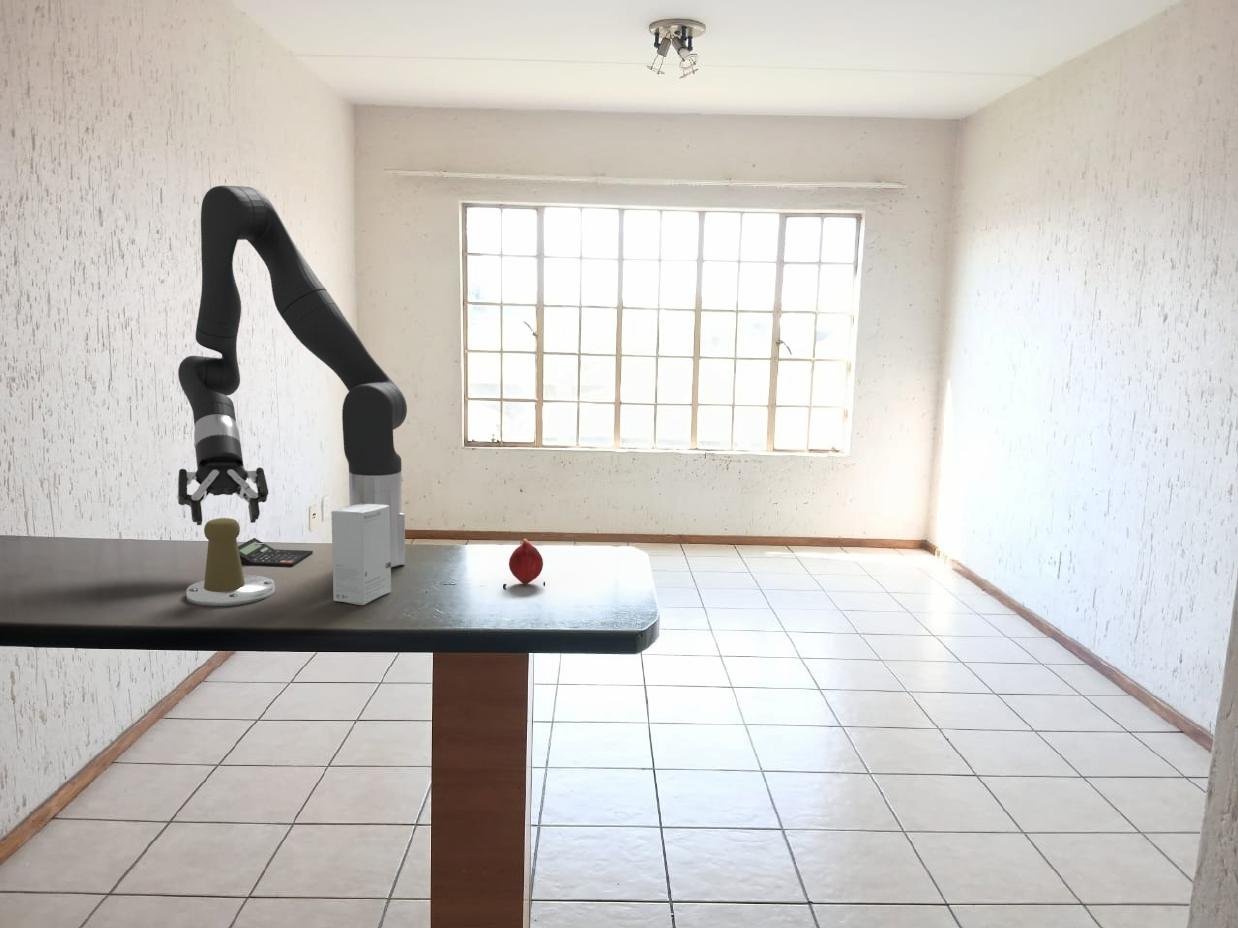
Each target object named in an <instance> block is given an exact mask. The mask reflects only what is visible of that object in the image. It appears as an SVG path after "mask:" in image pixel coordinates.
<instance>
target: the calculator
mask: <svg viewBox="0 0 1238 928" xmlns="http://www.w3.org/2000/svg"><path fill="white" fill-rule="evenodd" d="M253 543H264V542H263V541H261V540H259V539H257V538H256V537H253V538H251V539H249V540H247V541H246V542H244V543H241V544H240V545H238V550H239V555H240V560H241V562H242V563H245V564H247V566H259V565H262V567H264V566H265V567H284V566H286V567H288V568H289V567H290V568H294V567H295V566H297V565H298V564H299V563H301V562H303V561H304V560H306V559H307V558H309V557H310V556H311V555H314V554H313V550H300V549H299V550H297V549H278V548H277V549H276V548H273V547H271V546H269V545H268V544H267V543H264V544H253ZM286 567H285V568H286Z"/></svg>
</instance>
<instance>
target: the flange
mask: <svg viewBox="0 0 1238 928" xmlns="http://www.w3.org/2000/svg"><path fill="white" fill-rule="evenodd" d="M243 576H244V582H245V585H244V586H243V587H241V588H238V589H235V590H229V591H208V590H205V589H204V581H205V579H204V580H200V581H196V582H194V583H192V584H191V585H189V586H188V587H187V588H186V591H185V592H186V595H185V596H186V600H187V601H188V602H189V603H191V604H195V605H198V606H205V607H207V606H208V607H229V606H230V607H233V606H239V605H240V606H241V605H246V604H251V603H254V602H255V603H256V602H259V601H262V600H264V599H267V598H269V597H270V596H272V595H274V593H275V591H276V588H275V587H276V586H275V585H276V584H275V581H274V580H273V579H271V578H270V577H266V576H261V575H252V574H243Z"/></svg>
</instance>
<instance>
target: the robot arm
mask: <svg viewBox="0 0 1238 928" xmlns="http://www.w3.org/2000/svg"><path fill="white" fill-rule="evenodd" d="M200 210H201V211H200V243H201V244H200V248H201V249H200V253H201V255H200V256H201V291H200V292H201V294H200V302H199V309H198V317H197V322H196V327H195V341H196V343H197V344H198V345H200V346H202V347H203V348H206V349H208V350H211V351H215V352H217V353H220V354H221V357H211V356H201V355H190V356H187V357H185V358H184V359H183V360H182V361H181V362H180V363H179V366H178V372H177V375H178V377H177V378H178V381H179V385H180V386H181V390H182V391H183V393H184V395H185V396H186V398H187V400H188V402H189V405H190V406H191V410H192V416H193V424H194V425H193V426H194V432H193V439H194V442H193V445H194V446H193V447H194V449H195V450H194V451H195V460H196V468H197V470H196V471H194V472H193V471H187V469H186V468H180V469H179V471H178V478H177V495H178V497H177V499H178V500H177V503H178V504H179V506H185V505H187V506H189V507H190V514H191V521H192V523H196V526H202V523H203V511H202V502H203V501H205V500H206V499H207V497H208V496H209V495H210V494H211V495H213V497H214V496H220V495H225V496H233V494H235V495H236V496H237V497H239V498H240V499H242V500H244V501H246V502H247V503H248V504H247V505H248V514H249V521H250V522H249V523H250V524H251V523H252V524H253V523H256V520H259V517H260V505H259V503H265V502H267V500H268V495H269V489H268V484H267V479H266V475H265V471H264V468H263V467H257V468H256V470H246V468H245V466H244V459H243V453H242V444H241V437H240V431H239V429H238V426H237V418H236V411H235V405H234V402H233V400H232V399H231V397H229V396H232V395H233V394H235V392H237V390H238V389H239V388H240V387H239V386H240V384H241V374H240V368H239V363H238V355H237V354H238V353H237V344H238V343H237V341H238V333H239V328H240V322H241V317H242V300H241V296H240V292H239V288H238V285H237V283H236V279H235V276H234V275H235V274H234V267H233V265H234V264H233V263H234V262H233V261H234V255H235V251H236V246H237V244H238V241H241V240H242V241H244V240H246V241H247V242H248V243H249V244H250V246H252V247H253V248H254V250H255V251H256V253H258V255H259V256H260V258H261V260H262V261H263V262H264V264H265V266H266V268H267V270H268V273H269V277H270V284H271V293H272V298H273V302H274V305H275V308H276V310H277V312H278V314H279V315H280V317H281V318H282V320H283V321H284V322H285V324H286V325H287V326H288V328H289V329H290V331H291V332H292V334H293V335H294V337H295V338H296V340H298V341H299V342H300V344H302V345H303V346H304V347H305V348H306V349H307V350H308V351H309V352H311V354H313V355H314V356H315V357H316V358H318V359H319V360H320V361H321V362H323V364H325V365H326V366H327V367H328V368H329V369H331V371H333V372H334V374H336V376H337V377H338V378H339V379H340V380H341V382H342V383H343V385H344V386H345V387H346V389H347V391H348V392H347V394H346V395H345V397H344V400H343V404H342V409H341V410H342V411H341V414H342V415H341V421H342V436H343V437H342V438H343V450H344V451H343V452H344V457H345V458H346V460H347V463H348V464H347V465H348V491H349V492H348V493H349V495H348V496H349V500H348V501H349V503H348V504H349V505H348V506H352V505H357V504H361V503H362V504H378V505H389V506H390V555H391V568H396V567H398V566H401V565H402V566H404V565H406V540H405V539H406V534H405V533H406V530H405V529H406V519H405V518H406V516H405V513H404V512H403V508H402V507H403V505H402V503H403V501H402V499H403V498H402V497H403V495H402V491H403V490H402V489H403V487H402V458H401V456H400V455H399V454H398V453H397V451H396V450H395V445H394V430H396V429H398V428H399V427H400V426H402V424H403V423H404V422H405V420H406V417H407V413H408V405H407V401H406V398H405V397H404V394H403V392H402V391H401V389H400V388H399V387H398V386H397V385H396V384H395V382H394V381H393V380H392V379H391V378H390V376H388V375H387V373H386V372H385V371H384V370H383V369H382V367H381V366H380V365H379V364H378V363H377V361H376V360H375V359H374V358H373V357H372V355H371V354H370V353H369V351H368V350H367V348H366V346H365V345H364V344H363V342H362V341H361V339H360V337H359V336H358V334H357V333H356V332H355V330H354V329H353V327H352V325H351V324H350V322H349V321H348V320H347V319H346V317H345V315H344V314H343V313H342V311H341V309H340V307H339V306H338V304H337V303H336V301H335V299H333V297H332V295H331V294H330V293H329V292H328V289H326V288H325V286H324V285H323V283H322V282H321V281H320V280H319V278H318V277H317V275H316V273H314V271H313V269H312V268H311V266H310V265H309V263H308V262H307V260H306V259H305V257H304V256H303V254H302V253H301V252H300V250H299V249H298V247H297V246H296V244H295V242H294V241H293V239H292V237H291V235H290V233H289V232H288V230H287V228H286V226H285V224H284V223H283V221H282V219H281V217H280V215H279V213H278V212H277V210H276V208H275V207H274V205H273V204H272V202H271V201H270V199H269V198H268V197H267V196H266V195H265V193H263V192H262V191H261V190H259V189H257V188H254V187H251V186H243V185H241V186H240V185H217V186H213V187H212V188H210V189H208V191H207V192H205V195H204V197H203V199H202V202H201V208H200ZM247 479H250V481H251V482H252V483H253V484H255V485H256V489H257V492H256V491H255V490H254V489H253V488H252V487H251V486H250V484H249V483H248V482H246V481H247ZM194 480H195V481H196V482H197V484H199V486H198V487H197V489H196V490H195V491H194V493H193V494H192V495H191V494H188V486H189V485H191V483H192V481H194Z"/></svg>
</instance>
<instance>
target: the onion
mask: <svg viewBox="0 0 1238 928" xmlns="http://www.w3.org/2000/svg"><path fill="white" fill-rule="evenodd" d="M543 567H544V559H543V557H542V555H541V553H540V552H539V550H538V549H537V548H536V547H535V546H534V545H532V544H531V543H530V542H529V540H528V539H527V538H523V541H522V543H521V544H520V545H519V546H518V547H516V548H515V549H514V551H512V553H511V555H510V557H509V560H508V568H509V570H510V573H511V574H512V575H513V576H514V578H516V579H517V580H518V581H519V582H520V583H521V584H522V585H526V586H527V585H528V584H530V583H532V582H533V581H534V580H536V579H537V578H538V577H539V576H540V575H541V572H542V570H543Z"/></svg>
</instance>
